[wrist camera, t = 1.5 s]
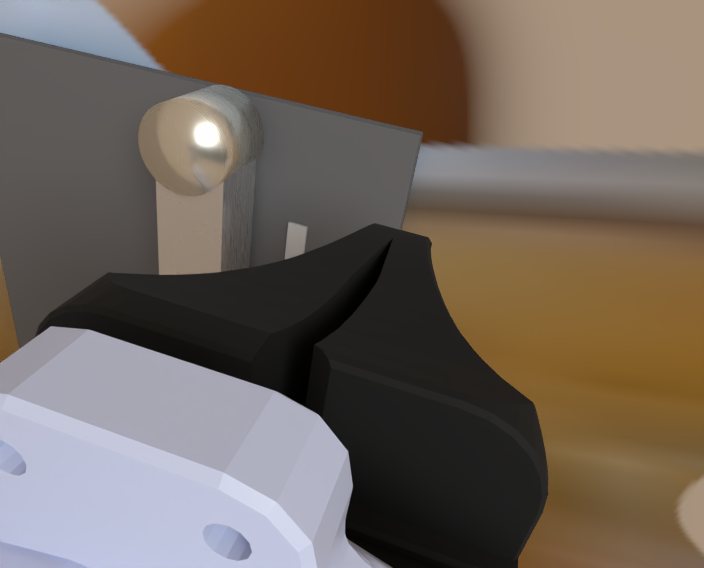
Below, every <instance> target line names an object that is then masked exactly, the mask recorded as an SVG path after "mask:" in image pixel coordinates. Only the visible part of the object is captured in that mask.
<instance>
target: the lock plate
mask: <svg viewBox="0 0 704 568" xmlns="http://www.w3.org/2000/svg"><path fill="white" fill-rule="evenodd" d="M212 85H220V84H215V83H212V82H207V81H203V80H199V79H195V78H190V77H186V76H182V75H177V74H173V73H169V72H165V71H160V70H156V69H152V68H148V67H143V66H139V65H135V64H131V63H126V62H122V61H118V60H114V59H109V58H105V57H101V56H97V55H92V54H88V53H84V52H80V51H75V50H71V49H67V48H63V47H58V46H54V45H50V44H46V43H41V42H37V41H33V40H28V39H24V38H20V37H16V36H11V35H7V34H3V33H0V256H1V260H2V265H3V270H4V275H5V280H6V285H7V289H8V294H9V299H10V304H11V309H12V313H13V318H14V323H15V328H16V333H17V337H18V342H19V347H20V348H21V347H23V346H24V345H26V344H27V343H28V342H30V341H31V340H33V339H34V338H35V335H36V332H37V329H38V326H39V324H40V323H41V322H42V321H43V320H44V319H45V317H46V316H47V315H48V314H49V313H50V312H52V311H53V310H54V309H56V308H57V307H59V306H60V305H62V304H63V303H65V302H66V301H67V300H69V299H70V298H72V297H73V296H75V295H76V294H77V293H79V292H80V291H82V290H83V289H85V288H86V287H87V286H89V285H90V284H92V283H93V282H95V281H96V280H97V279H99V278H100V277H102V276H103V275H105V274H106V273H108V272H112V273H130V274H155V275H159V257H158V229H157V200H156V179H155V178H154V177H153V176H152V174H151V173H150V172H149V170H148V169H147V167H146V165H145V163H144V161H143V159H142V156H141V153H140V149H139V143H138V131H139V126H140V123H141V120H142V118H143V116H144V115H145V113H146V112H147V111H148V110H149V109H150V108H151V107H153V106H154V105H156V104H158V103H161V102H164V101H167V100H170V99H173V98H176V97H179V96H182V95H185V94H188V93H191V92H194V91H197V90H200V89H203V88H206V87H209V86H212ZM235 89H237V88H235ZM237 90H239V91H240V92H242V93H243V94H245V95H246V96H247V97H248V98H249V99H250V100H251V101H252V103H253V104H254V105H255V107H256V108H257V110H258V112H259V114H260V116H261V119H262V122H263V126H264V144H263V147H262V150H261V152H260V154H259V156H258V157H257V159H256V172H255V187H254V203H253V218H252V234H251V249H250V265H249V268H250V267H256V266H261V265H265V264H270V263H274V262H278V261H282V260H285V259H289V258H292V257H295V256H298V255H301V254H303V253H306V252H309V251H311V250H314V249H317V248H319V247H322V246H325V245H327V244H330V243H332V242H334V241H336V240H338V239H341V238H343V237H345V236H347V235H349V234H352V233H354V232H356V231H358V230H360V229H362V228H364V227H366V226H368V225H371V224H373V223H376V224H380V225H384V226H388V227H391V228H395V229H399V230H402V225H403V221H404V216H405V212H406V207H407V203H408V198H409V194H410V189H411V185H412V180H413V176H414V171H415V167H416V162H417V158H418V153H419V149H420V144H421V140H422V135H423V132H420V131H416V130H412V129H407V128H403V127H398V126H395V125H390V124H386V123H382V122H377V121H373V120H368V119H365V118H361V117H356V116H352V115H348V114H344V113H339V112H335V111H330V110H327V109H322V108H318V107H314V106H309V105H305V104H301V103H296V102H292V101H288V100H283V99H279V98H275V97H271V96H267V95H263V94H258V93H254V92H249V91H246V90H241V89H237Z"/></svg>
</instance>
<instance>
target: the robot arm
mask: <svg viewBox="0 0 704 568" xmlns="http://www.w3.org/2000/svg"><path fill="white" fill-rule="evenodd" d="M431 246H432V243H431V241H430V239H429V238H428V237H425V236H421V235H417V234H414V233H410V232H406V231H403V230H399V229H395V228H391V227H388V226H384V225H380V224H376V223H373V224H371V225H368V226H366V227H364V228H362V229H360V230H358V231H356V232H354V233H352V234H349V235H347V236H345V237H343V238H341V239H338V240H336V241H334V242H332V243H330V244H327V245H325V246H322V247H319V248H317V249H314V250H311V251H309V252H306V253H303V254H301V255H298V256H295V257H292V258H289V259H285V260H282V261H278V262H274V263H270V264H265V265H261V266H256V267H250V268H243V269H237V270H230V271H223V272H215V273H201V274H179V275H155V274H130V273H112V272H108V273H106V274H105V275H103V276H102V277H100V278H99V279H97V280H96V281H95V282H93V283H92V284H90V285H89V286H87V287H86V288H85V289H83V290H82V291H80V292H79V293H77V294H76V295H75V296H73V297H72V298H70V299H69V300H67V301H66V302H65V303H63V304H62V305H60V306H59V307H57V308H56V309H54V310H53V311H52V312H50V313H49V314H48V315H47V316H46V317H45V319H44V320H43V321H42V322H41V323H40V324H39V326H38V329H37V332H36V335H35V338H34V339H33V340H31V341H30V342H28V343H27V344H26V345H24V346H23V347H21V348H20V349H19V350H17V351H16V352H15V353H13V354H12V355H10V356H9V357H8V358H6V359H5V360H4V361H2V362H1V363H0V568H518V557H519V555H520V554H521V552H522V550H523V548H524V546H525V544H526V542H527V540H528V539H529V537H530V535H531V533H532V531H533V529H534V527H535V526H536V524H537V522H538V520H539V518H540V516H541V514H542V512H543V509H544V506H545V502H546V499H547V496H548V469H547V460H546V453H545V448H544V443H543V438H542V433H541V429H540V424H539V420H538V416H537V412H536V409H535V405H534V404H533V402H532V401H530V400H529V399H528V398H526V397H525V396H524V395H523V394H521V393H520V392H519V391H518V390H516V389H515V388H514V387H512V386H511V385H510V384H509V383H507V382H506V381H505V380H503V379H502V378H501V377H500V376H499V375H498V374H497V373H496V372H495V371H494V370H493V369H492V368H491V367H489V366H488V365H487V364H486V363H485V362H484V361H483V360H482V359H481V357H480V356H479V355H478V354H477V353H476V352H475V351H474V350H473V349H472V347H471V346H470V345H469V343H468V342H467V341H466V340H465V338H464V337H463V336H462V334H461V333H460V332H459V330H458V329H457V327H456V325H455V323H454V322H453V320H452V318H451V316H450V314H449V312H448V310H447V308H446V306H445V304H444V301H443V298H442V296H441V293H440V291H439V288H438V285H437V281H436V278H435V274H434V270H433V266H432V260H431Z"/></svg>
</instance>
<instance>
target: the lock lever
mask: <svg viewBox="0 0 704 568" xmlns="http://www.w3.org/2000/svg"><path fill="white" fill-rule="evenodd" d="M138 143H139V149H140V153H141V156H142V159H143V161H144V163H145V165H146V167H147V169H148V170H149V172H150V173H151V174H152V176H153V177H154V178H155V179H156V200H157V229H158V257H159V275H179V274H201V273H215V272H223V271H230V270H237V269H243V268H249V265H250V249H251V234H252V218H253V203H254V187H255V172H256V159H257V157H258V156H259V154H260V152H261V150H262V147H263V144H264V126H263V122H262V119H261V116H260V114H259V112H258V110H257V108H256V107H255V105H254V104H253V103H252V101H251V100H250V99H249V98H248V97H247V96H246V95H245V94H243V93H242V92H240V91H239V90H237V89H235V88H233V87H229V86H226V85H212V86H209V87H206V88H203V89H200V90H197V91H194V92H191V93H188V94H185V95H182V96H179V97H176V98H173V99H170V100H167V101H164V102H161V103H158V104H156V105H154V106H153V107H151V108H150V109H149V110H148V111H147V112H146V113H145V115H144V116H143V118H142V120H141V123H140V126H139V131H138Z"/></svg>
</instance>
